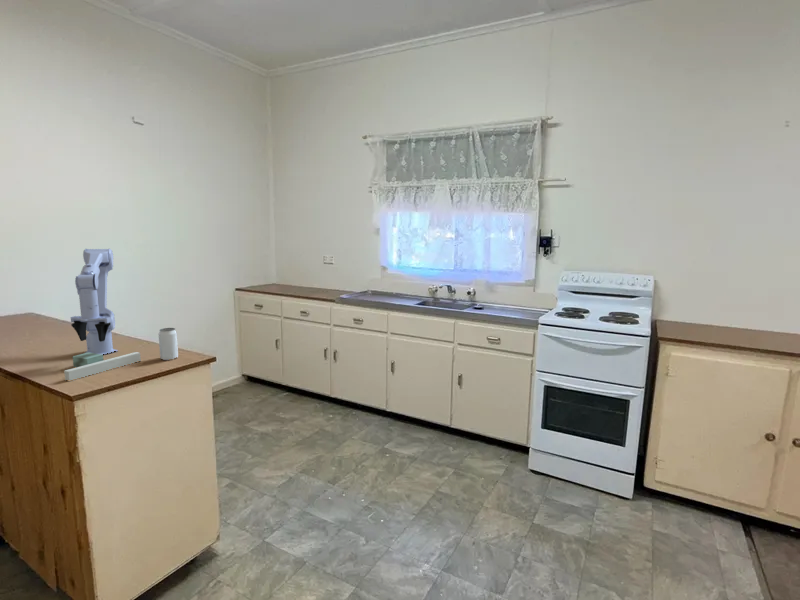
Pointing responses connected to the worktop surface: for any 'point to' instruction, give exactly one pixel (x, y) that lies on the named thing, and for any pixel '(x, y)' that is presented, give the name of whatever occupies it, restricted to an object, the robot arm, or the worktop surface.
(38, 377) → the worktop surface
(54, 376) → the worktop surface
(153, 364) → the worktop surface
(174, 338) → the can
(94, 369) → the board
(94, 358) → the block
